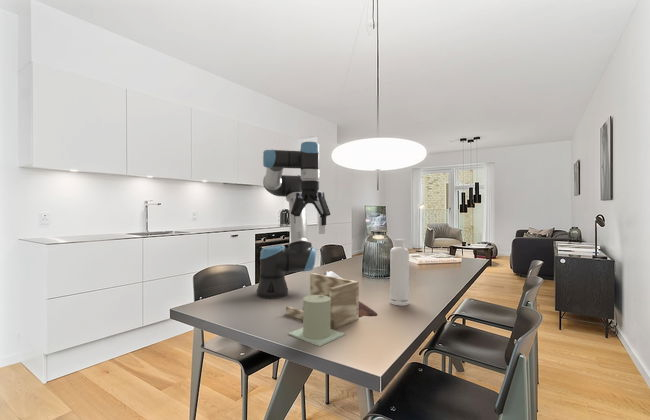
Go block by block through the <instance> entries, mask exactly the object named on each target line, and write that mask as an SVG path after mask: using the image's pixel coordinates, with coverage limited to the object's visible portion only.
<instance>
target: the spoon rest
mask: <svg viewBox="0 0 650 420" xmlns="http://www.w3.org/2000/svg"><path fill="white" fill-rule="evenodd" d="M323 275H326V276H332V277H337V278H342V277H341V276H340V275H338V274H336V272H334V271H332V270H331V271H326V270H325V272H324V273H323Z"/></svg>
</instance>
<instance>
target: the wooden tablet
mask: <svg viewBox="0 0 650 420" xmlns="http://www.w3.org/2000/svg"><path fill="white" fill-rule="evenodd" d="M376 316H378V313H377V312H376V311H375V310H373V309H372V308H370V306H368V305H367V304H364V303H363V302H361V301H360V300H359V318H361V317H376Z"/></svg>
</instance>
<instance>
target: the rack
mask: <svg viewBox="0 0 650 420" xmlns="http://www.w3.org/2000/svg"><path fill="white" fill-rule="evenodd" d="M309 278H310V279H309V281H310V282H309V283H310V285H309V286H310V291H309V292H310V293H309V294H310V295H325V296H328V297H330V298H331V301H330V329H332V330H335V329H338V328H340V327H343V326H345V325H347V324H350V323H351V322H354V321H357V320H359V318H360V317H359V301H360V299H359V298H360V296H359V295H360V293H359V292H360V289H359V288H360V287H359V286H360V285H359V284H360V283H359V282H360V281H356V280H354V279H353V280H351V279H346V278H342V277H341V278H337V277H332V276H326V275H324V274H319V273H314V272H311V273H310V277H309ZM285 314H286V315H288V316H290V317H293V318H295V319H296V318H297V319H298V320H299V319H300V320H302V321H303V309H300V308H296V307H293V306H290V305H287V306H286V307H285Z"/></svg>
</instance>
